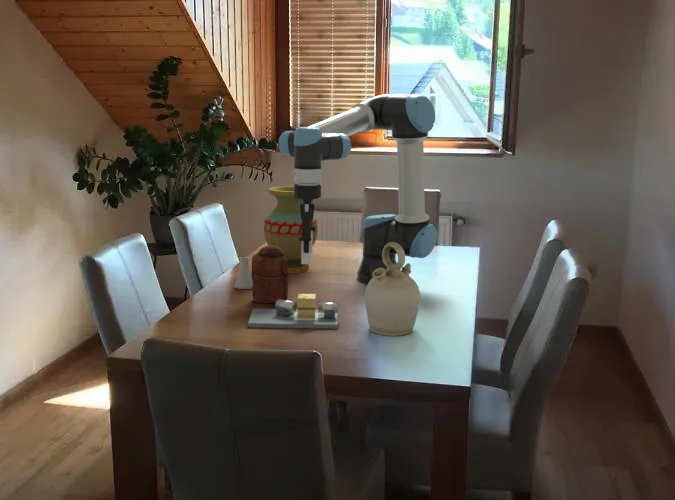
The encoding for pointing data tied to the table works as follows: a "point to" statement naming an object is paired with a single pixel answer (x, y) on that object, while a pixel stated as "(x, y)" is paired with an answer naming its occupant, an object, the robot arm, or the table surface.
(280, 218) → the vase
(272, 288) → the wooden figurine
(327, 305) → the shaft
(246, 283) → the flask
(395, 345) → the table surface
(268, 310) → the base plate
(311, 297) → the block
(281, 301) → the shaft
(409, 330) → the jug
